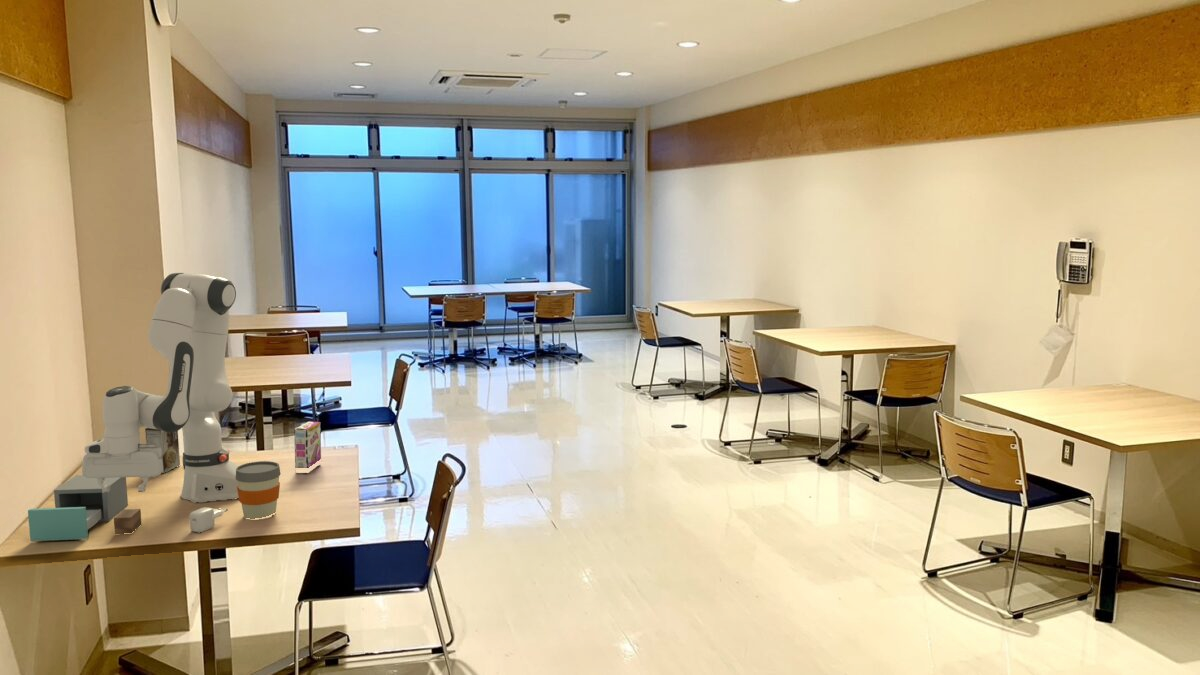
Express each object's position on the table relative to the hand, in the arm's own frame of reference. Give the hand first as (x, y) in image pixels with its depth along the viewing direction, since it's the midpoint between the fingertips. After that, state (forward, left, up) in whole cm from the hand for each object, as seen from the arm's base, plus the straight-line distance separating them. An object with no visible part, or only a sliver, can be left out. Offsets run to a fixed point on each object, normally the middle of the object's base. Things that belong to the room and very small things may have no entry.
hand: (124, 491), depth 233 cm
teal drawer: (+15, 0, -11) cm, 18 cm away
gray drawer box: (+15, -15, -12) cm, 24 cm away
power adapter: (-22, -1, -12) cm, 25 cm away
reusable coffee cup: (-34, -9, -12) cm, 37 cm away
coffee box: (+10, -59, -12) cm, 60 cm away
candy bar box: (-40, -53, -12) cm, 68 cm away
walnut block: (0, -1, -12) cm, 12 cm away
